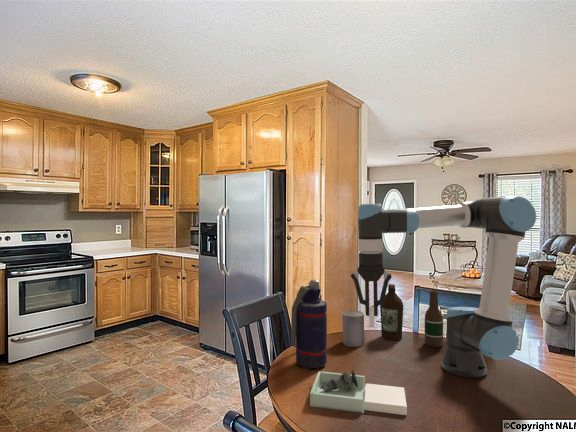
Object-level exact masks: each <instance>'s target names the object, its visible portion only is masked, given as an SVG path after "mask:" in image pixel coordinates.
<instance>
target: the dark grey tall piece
mask: <svg viewBox="0 0 576 432" xmlns="http://www.w3.org/2000/svg"><path fill="white" fill-rule="evenodd" d="M341 374H342V375H341V377H339V378H337V379H332V380H330V381H327V382H324V383H323V384H322V387H320V389H323V390H324V391H326V392H327V391H330V390H336V389H339V388H345V389H346V390H347V391H348V390H350V389H351V388H352V387H353V383H354V384H355V386H356V387H358V383H357V379H356V376H355V375H356V374H355V371H354V370H351V372H350V373H349V372H343V371H342V372H341ZM351 375H352V376H351Z"/></svg>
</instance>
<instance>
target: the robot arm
mask: <svg viewBox="0 0 576 432" xmlns="http://www.w3.org/2000/svg"><path fill="white" fill-rule="evenodd" d="M357 210H358V211H357V226H358V227H357V230H358V231H357V232H358V241H357V242H358V246H357V247H358V251H359V253H358V267H357V270H356V271H355V272H351V274H350V278H351V279H352V280H353V282H354V286H355V290H356V293H357V297H358V301H359V304H361V305H364V306H365V308H364V309H365V316H367V317H369V318H368V319H369V326H368V327H369V328H375V317H378V316H379V307H380V305H382V304H383V303H384V299H385V295H386V294H387V291H388V284H389V282H390V281H391V279H392V274H391V273H388V272H387V271H385V267H384V259H383V258H384V257H383V256H384V254H383V253H382V252H383V250H384V249H383V244H384V243H383V234H399V233H400V234H402V233H403V234H404V233H406V234H408V233H414V232H416V231H417V230H418V229H426V228H428V229H429V228H441V227H443V228H444V227H453V226H456V227H457V226H458V227H459V228H461V229H462V228H470V229H471V228H473V229H475V228H476V229H483V230H485V232H484V233H485V235H486V236H487V237H488V246H487V252H486V253H487V254H486V259H485V260H486V261H485V265H484V273H483V274H484V275H483V281H482V288H481V294H480V302H479V306H478V307H473V306H472V307H471V306H454V307H453V306H451V307H449V308H448V309H447V310H446V316H445V319H446V346H445V350H444V352H443V354H442V355H443V356H442V358H441V368H442V369H443V370H444V371H446V372H447V373H449V374H453V375H454V376H455V375H456V376H458V377H463V378H473V379H474V378H475V379H478V378H483V377H485V376H486V375H487V364H486V362H485V358H484V356H485V357H488V358H491V359H493V360H496V361H497V360H499V361H501V360H505V359H508V358H509V357H510V356H513V354H514V353H515V352H516V350H517V349H518V346H519V343H520V342H519V341H520V340H519V339H520V338H519V335H518V334H517V331H516V330H515V329H514V328H513V320H514V319H513V318H512V316H510V314H509V309H510V303H511V297H512V292H513V291H512V289H513V283H514V276H515V269H516V268H515V267H516V262H517V255H518V248H519V243H520V242H522V240H524V239H525V237H526V232H528V231H529V230H531V229H532V227H534V226H535V224H536V221H537V212H536V209H535V207H534V205H533V204H532V203H531V201H530V200H529V199H527V198H525V197H522V196H519V195H518V196H517V195H506V196H496V197H495V196H494V197H484V198H483V197H482V198H479V199H475V200H468V201H460V202H458V203H457V204H454V205H440V206H439V205H438V206H423V207H411V208H410V207H409V208H398V209H397V208H396V209H394V208H393V209H383V205H382V204H381V203H365V204H364V203H362V204H360V205H358V208H357ZM359 275H360V277H361V279H362V280H363V281H364V296H365V299H364V297H363V294H362V290H361V285H360V281H359ZM382 276H383V279H384V280H383V282H382V283H383V284H382V288H381V292H380V297H378V281H379V280H380V279H381V278H382ZM370 282H372V283H373V284H372V285H373V286H372V287H373V289H372V291H373V304H371V303H370ZM378 298H379V299H378ZM483 355H484V356H483Z"/></svg>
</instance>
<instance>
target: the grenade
mask: <svg viewBox="0 0 576 432" xmlns="http://www.w3.org/2000/svg"><path fill="white" fill-rule="evenodd" d="M299 287H300V288H299V289H298V291H297V292H296V296H295V299H294V302H293V304H292V307H291V319H290V320H291V321H290V326H291V327H290V345H291V346H292V347H293V348H295V349H296V350H295V363H296V364H297V365H299V366H301V367H302V369H303V370H306V371H310V370H311V369H318V368H325V366H326V364H327V363H328V361H327V359H328V357H327V354H328V351H327V349H328V344H327V343H328V341H327V340H328V336H327V335H328V330H327V329H328V324H327V323H328V320H327V319H328V318H327V316H328V313H327V312H328V311H327V310H328V308H327V307H328V306H327V305H328V303H327V302H326V301H324V300H322V299H320V300H319V298H320V295H321V291H322V290H321V288H320V289H319V288H316V287H311V286H309V285H306V286H304V285H303V286H302V285H301V286H299Z"/></svg>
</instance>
